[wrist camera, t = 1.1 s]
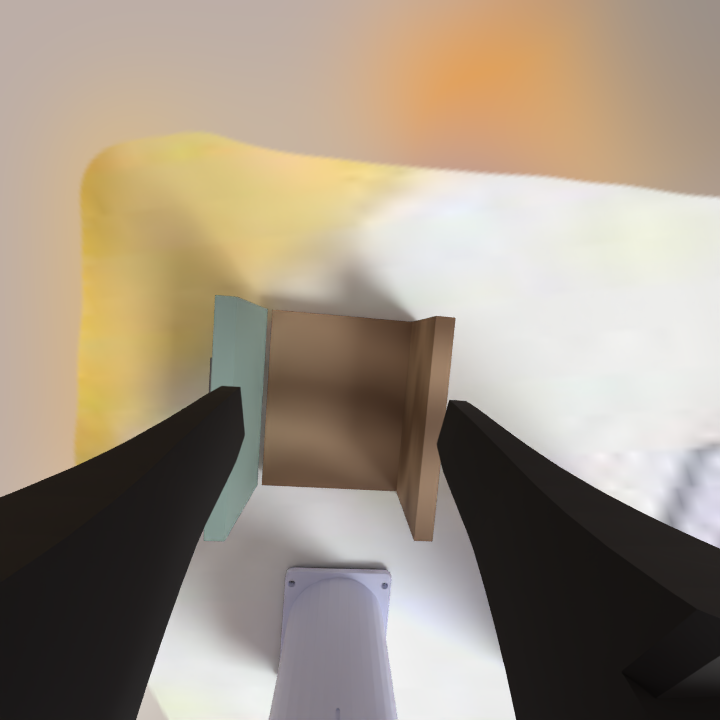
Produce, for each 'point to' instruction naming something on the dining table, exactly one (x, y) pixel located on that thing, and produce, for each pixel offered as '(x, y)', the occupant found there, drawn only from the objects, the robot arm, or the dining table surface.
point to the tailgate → (246, 370)
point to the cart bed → (359, 406)
